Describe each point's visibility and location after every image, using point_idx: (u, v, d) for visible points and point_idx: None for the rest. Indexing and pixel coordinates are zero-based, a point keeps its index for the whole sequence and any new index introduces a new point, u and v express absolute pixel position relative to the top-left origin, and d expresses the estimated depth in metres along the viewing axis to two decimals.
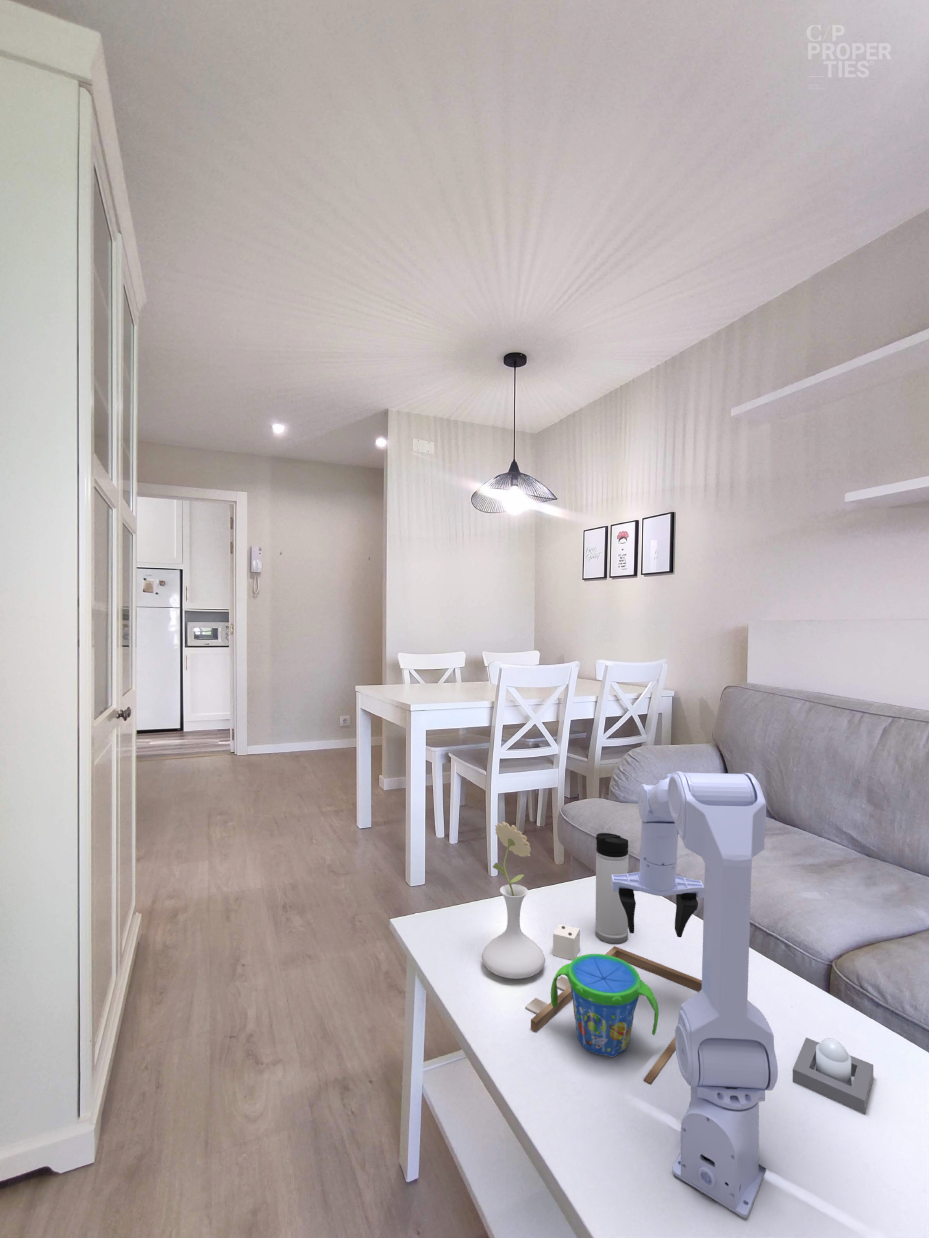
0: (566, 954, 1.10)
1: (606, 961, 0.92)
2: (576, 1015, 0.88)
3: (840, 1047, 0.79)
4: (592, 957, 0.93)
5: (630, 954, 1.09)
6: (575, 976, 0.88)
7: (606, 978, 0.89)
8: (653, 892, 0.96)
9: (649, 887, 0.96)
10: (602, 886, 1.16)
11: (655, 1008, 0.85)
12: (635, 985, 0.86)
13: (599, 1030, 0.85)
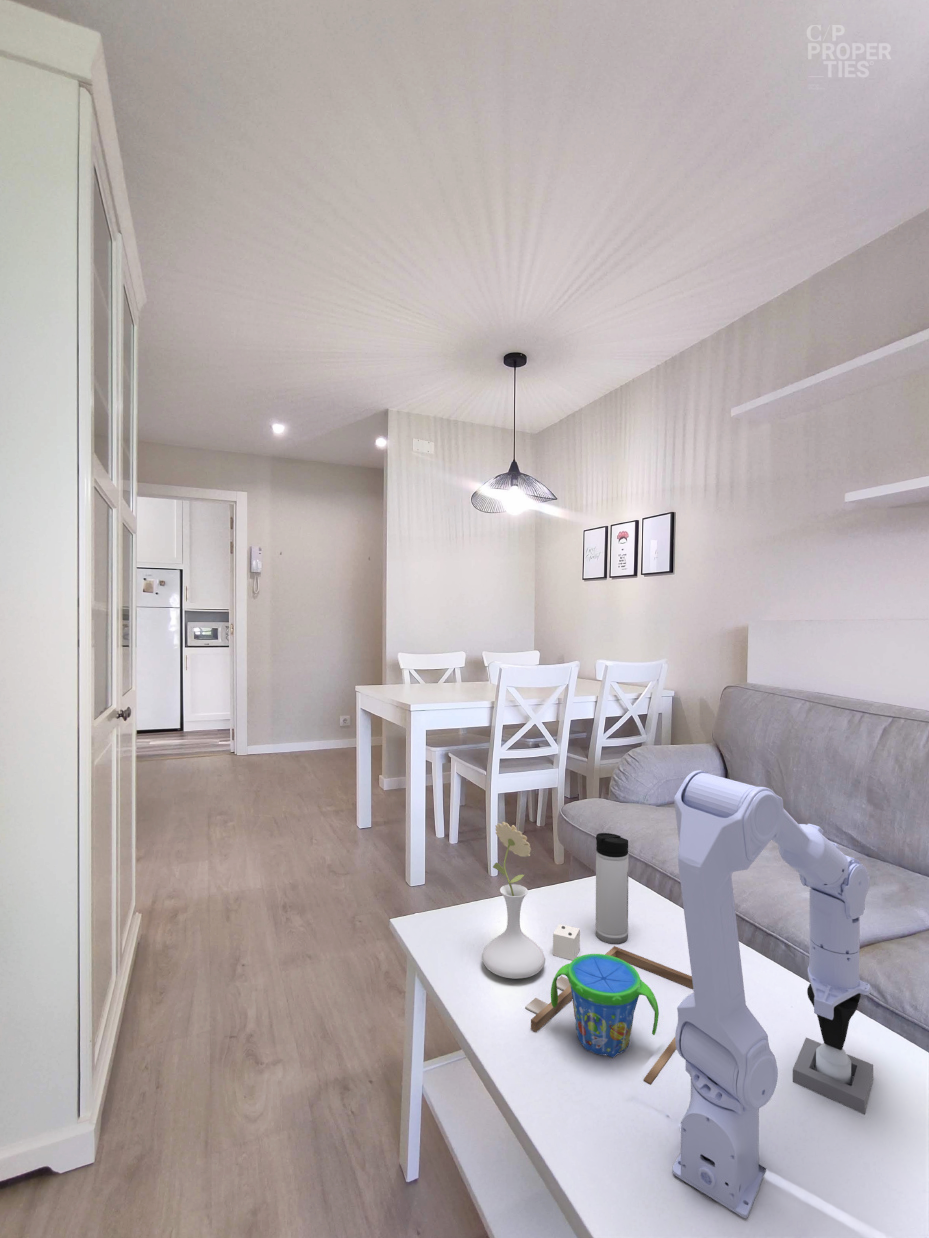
0: (566, 954, 1.10)
1: (606, 961, 0.92)
2: (576, 1015, 0.88)
3: (840, 1050, 0.79)
4: (592, 956, 0.93)
5: (630, 954, 1.09)
6: (575, 975, 0.88)
7: (606, 978, 0.89)
8: None
9: None
10: (602, 886, 1.16)
11: (655, 1008, 0.85)
12: (635, 985, 0.86)
13: (599, 1030, 0.85)
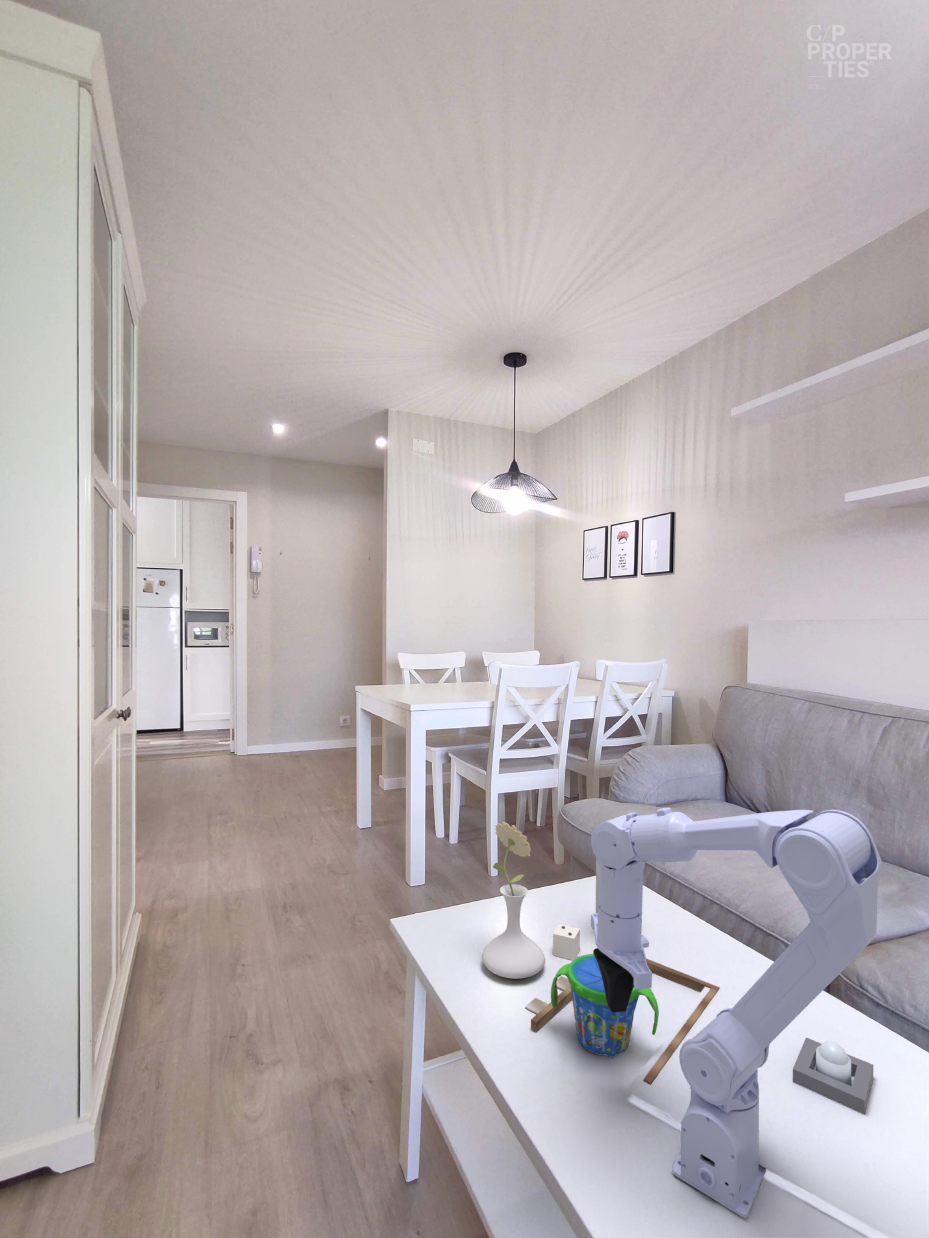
0: (566, 954, 1.10)
1: None
2: (576, 1015, 0.88)
3: (840, 1050, 0.79)
4: (592, 957, 0.93)
5: None
6: (575, 976, 0.88)
7: None
8: (595, 940, 0.80)
9: None
10: None
11: (655, 1008, 0.85)
12: None
13: (599, 1030, 0.85)
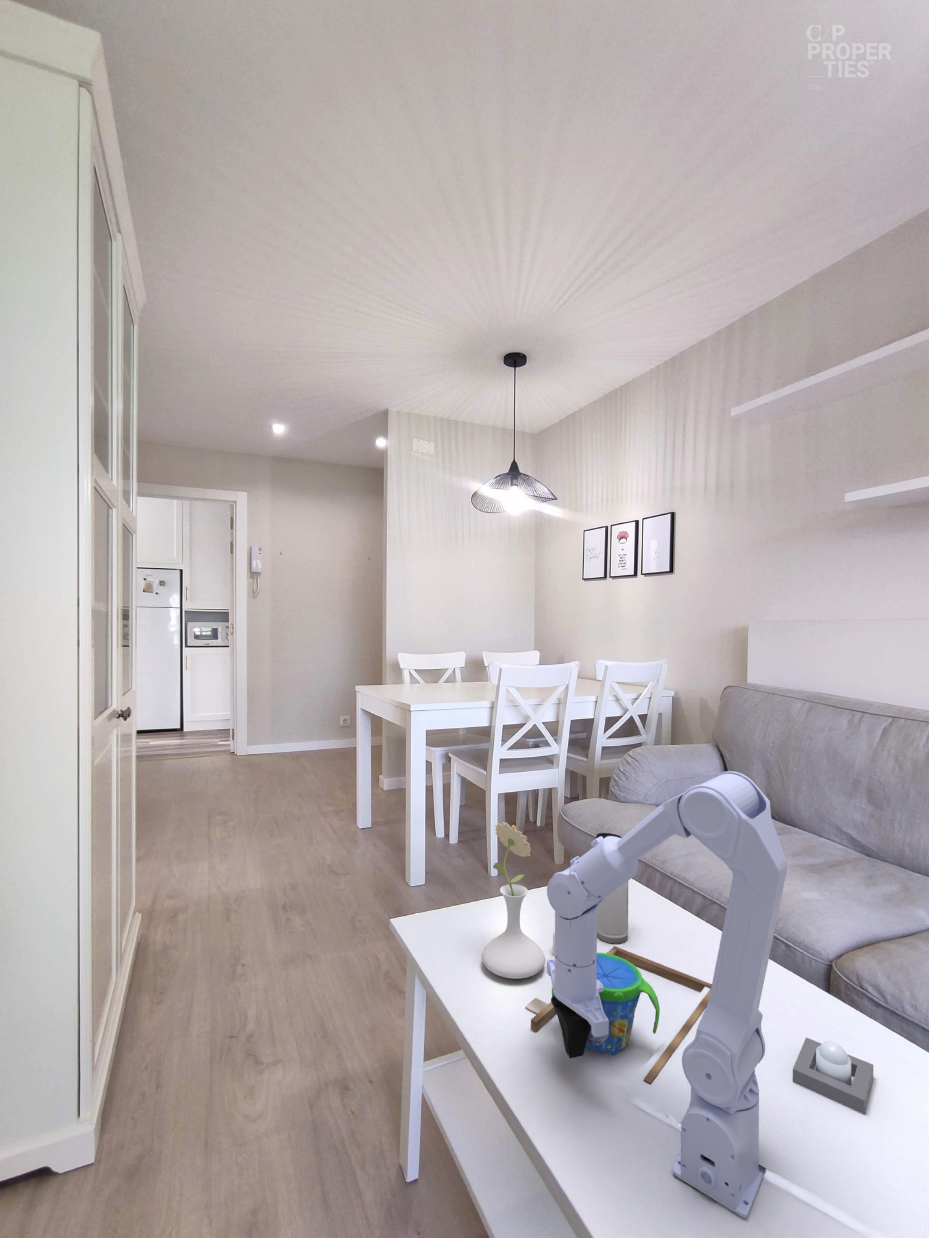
0: None
1: (608, 959, 0.93)
2: None
3: (840, 1050, 0.79)
4: None
5: (630, 954, 1.09)
6: None
7: (608, 976, 0.89)
8: (553, 988, 0.83)
9: (554, 982, 0.83)
10: None
11: (656, 1006, 0.85)
12: (636, 982, 0.86)
13: None
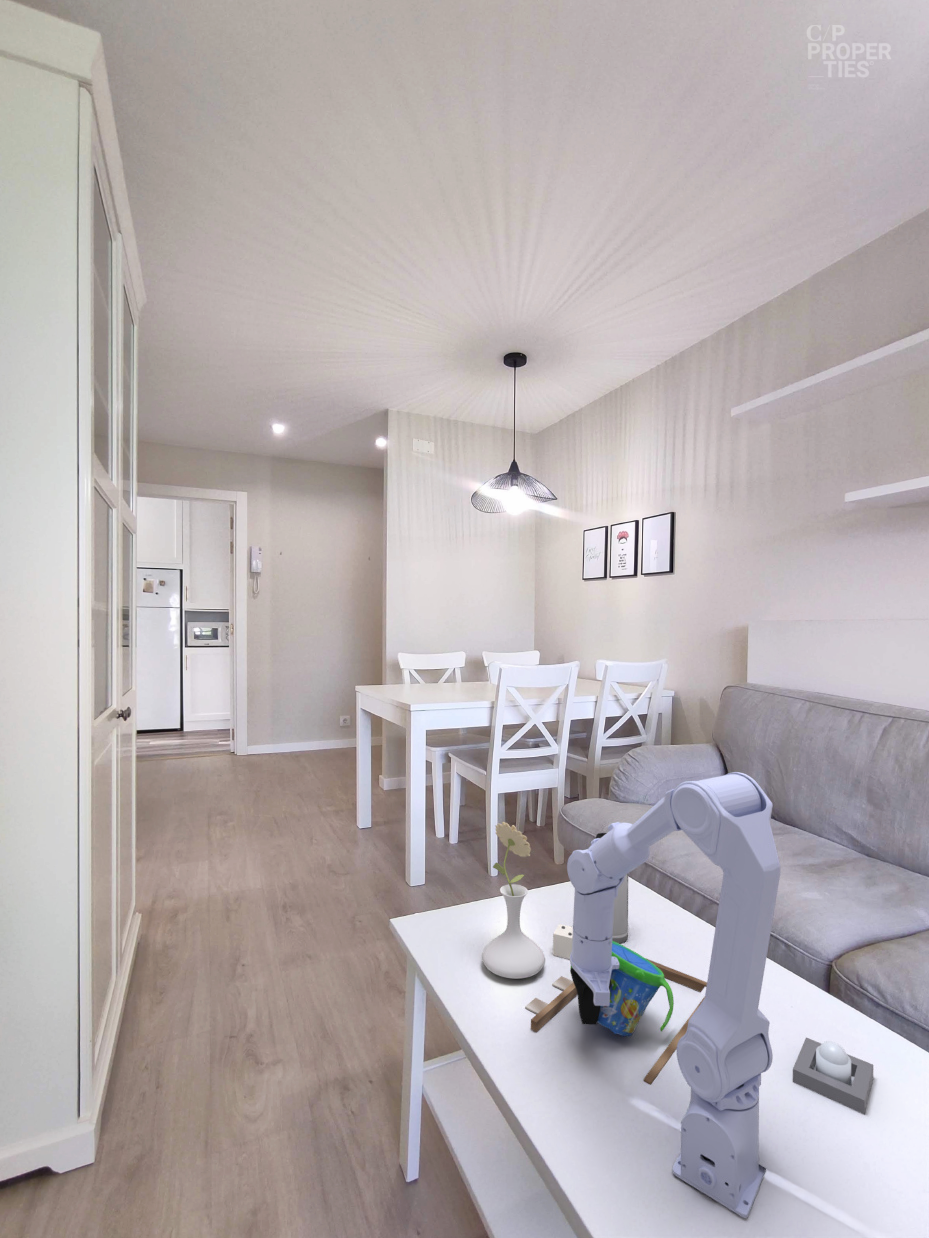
0: (566, 954, 1.10)
1: (633, 955, 0.95)
2: None
3: (840, 1050, 0.79)
4: (621, 946, 0.97)
5: None
6: None
7: (631, 962, 0.92)
8: (570, 956, 0.89)
9: None
10: None
11: (671, 1004, 0.87)
12: (659, 974, 0.89)
13: (612, 999, 0.87)
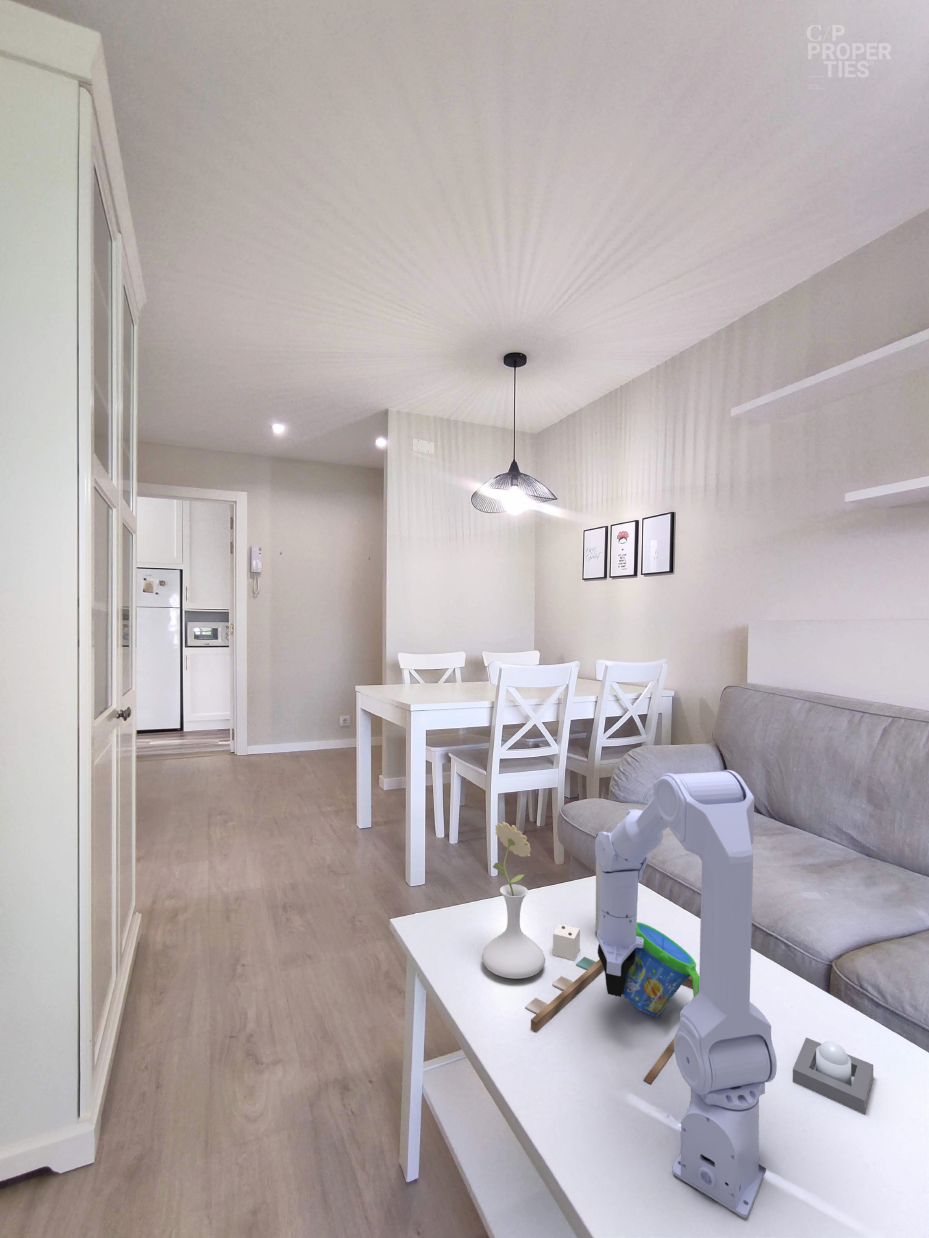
0: (566, 954, 1.10)
1: (673, 945, 0.99)
2: None
3: (840, 1050, 0.79)
4: (662, 935, 1.00)
5: None
6: (639, 927, 0.98)
7: (665, 949, 0.96)
8: (599, 930, 0.96)
9: None
10: None
11: (695, 993, 0.90)
12: (687, 963, 0.92)
13: (637, 976, 0.93)
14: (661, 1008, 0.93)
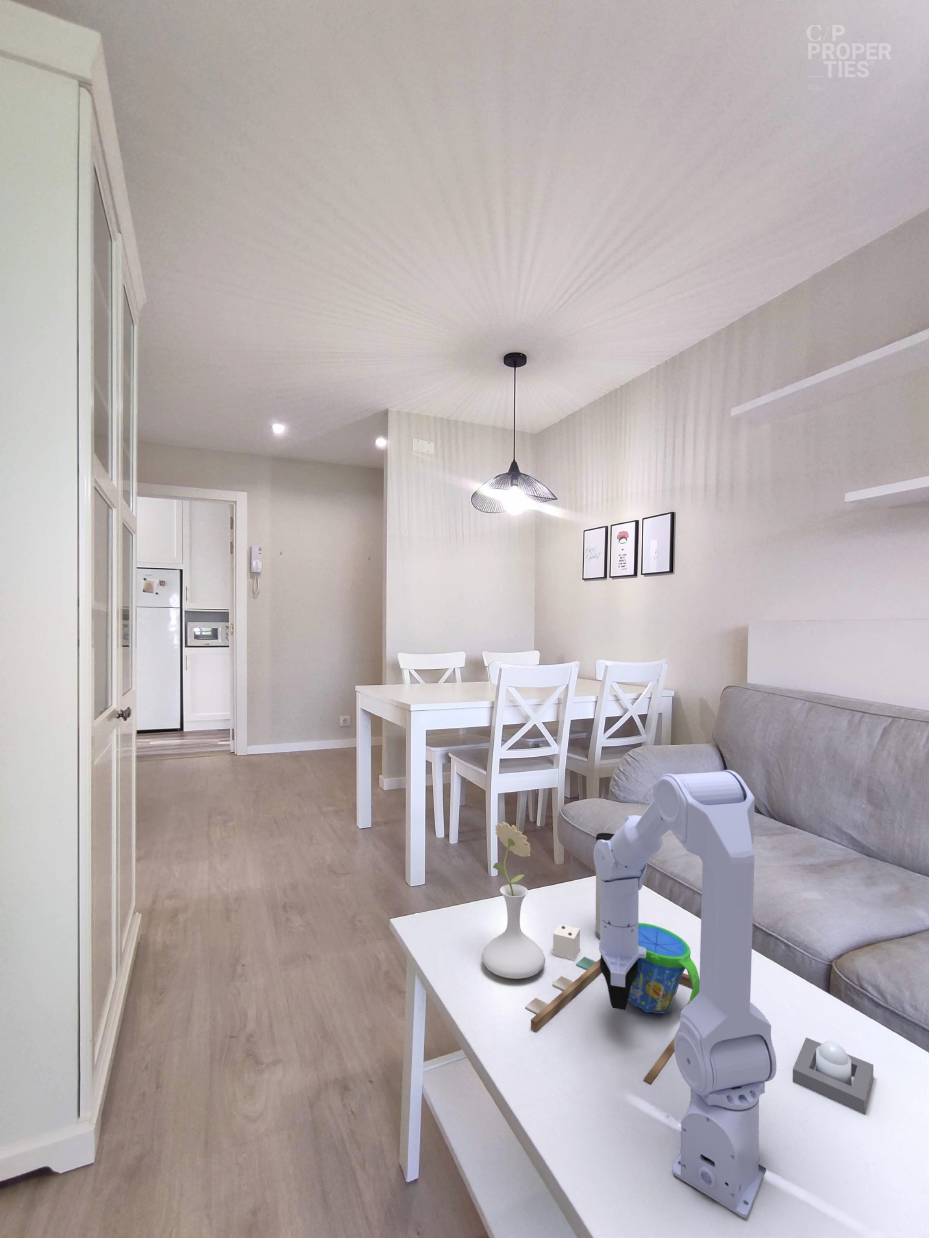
0: (566, 954, 1.10)
1: (668, 935, 1.00)
2: None
3: (840, 1050, 0.79)
4: (656, 928, 1.02)
5: None
6: None
7: (658, 945, 0.97)
8: None
9: None
10: None
11: (693, 983, 0.91)
12: (679, 956, 0.93)
13: (637, 982, 0.94)
14: (669, 1004, 0.94)
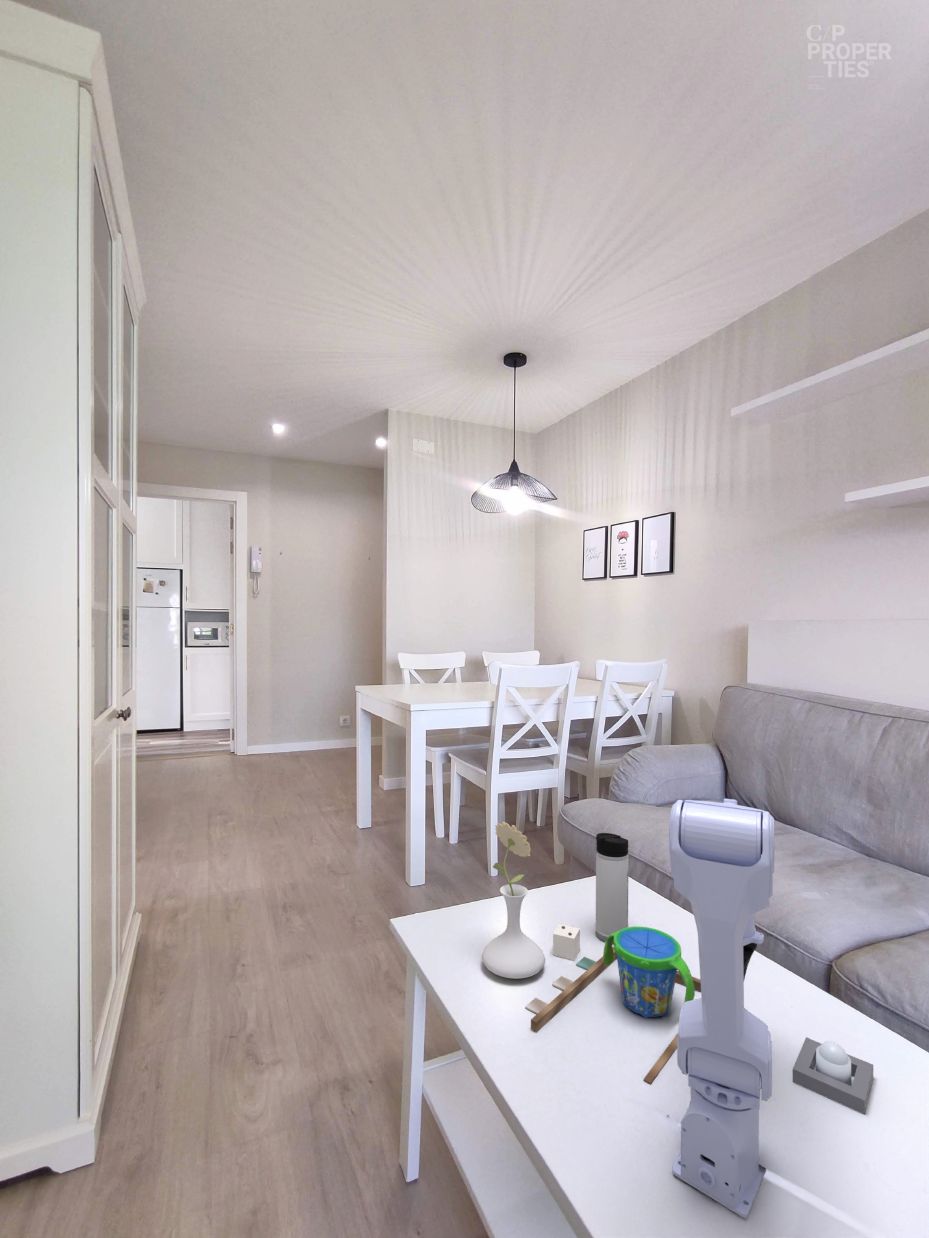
0: (566, 954, 1.10)
1: (659, 936, 1.00)
2: None
3: (840, 1050, 0.79)
4: (646, 929, 1.01)
5: None
6: (619, 938, 0.99)
7: (649, 948, 0.97)
8: None
9: None
10: (602, 886, 1.16)
11: (686, 983, 0.91)
12: (669, 958, 0.93)
13: (632, 989, 0.94)
14: (667, 1005, 0.94)
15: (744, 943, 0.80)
